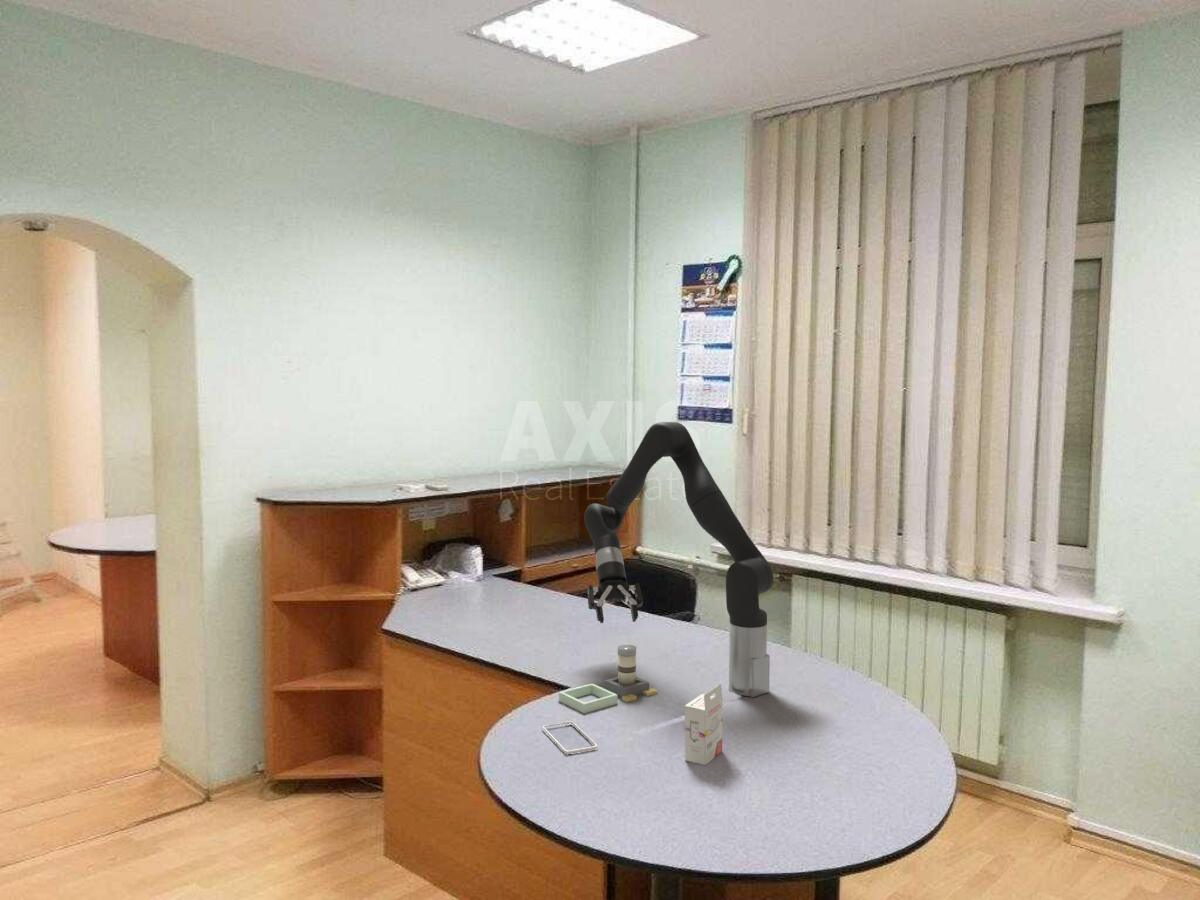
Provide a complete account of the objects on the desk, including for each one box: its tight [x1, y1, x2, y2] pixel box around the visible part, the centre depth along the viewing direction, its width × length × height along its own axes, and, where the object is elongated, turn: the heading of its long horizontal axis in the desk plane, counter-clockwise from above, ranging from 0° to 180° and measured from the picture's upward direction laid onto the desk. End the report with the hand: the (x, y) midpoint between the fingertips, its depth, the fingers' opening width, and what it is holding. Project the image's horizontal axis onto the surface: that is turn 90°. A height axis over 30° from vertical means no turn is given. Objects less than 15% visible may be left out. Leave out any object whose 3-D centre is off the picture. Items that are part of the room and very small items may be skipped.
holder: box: [600, 676, 659, 704], centre depth 221 cm, size 12×10×4 cm
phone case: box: [542, 720, 598, 754], centre depth 194 cm, size 7×1×15 cm
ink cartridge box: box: [684, 683, 724, 766], centre depth 185 cm, size 9×5×15 cm, turn 148°
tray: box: [558, 683, 619, 714], centre depth 213 cm, size 10×10×3 cm
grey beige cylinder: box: [617, 644, 637, 687], centre depth 220 cm, size 5×5×11 cm
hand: (618, 621), depth 230 cm, fingers open, 8 cm apart
